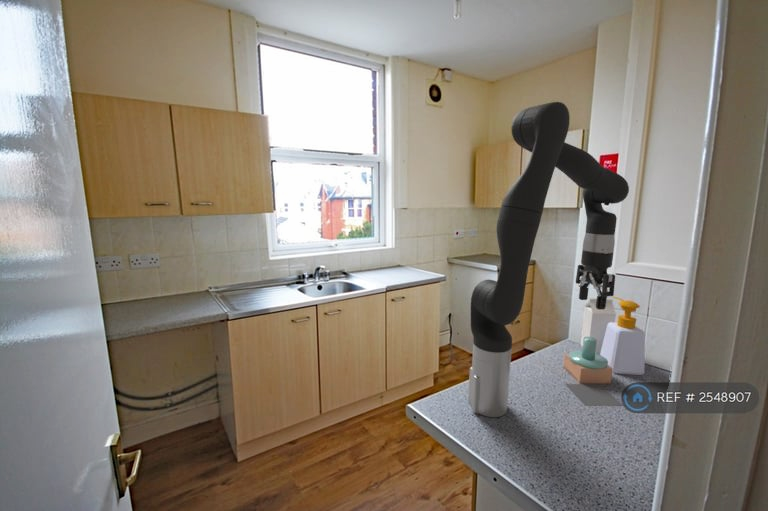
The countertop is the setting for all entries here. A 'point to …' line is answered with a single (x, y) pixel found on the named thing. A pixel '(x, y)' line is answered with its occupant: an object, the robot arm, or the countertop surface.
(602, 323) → the milk carton
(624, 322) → the soap bottle
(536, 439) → the countertop surface
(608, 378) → the dish
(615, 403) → the mat
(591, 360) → the lid
